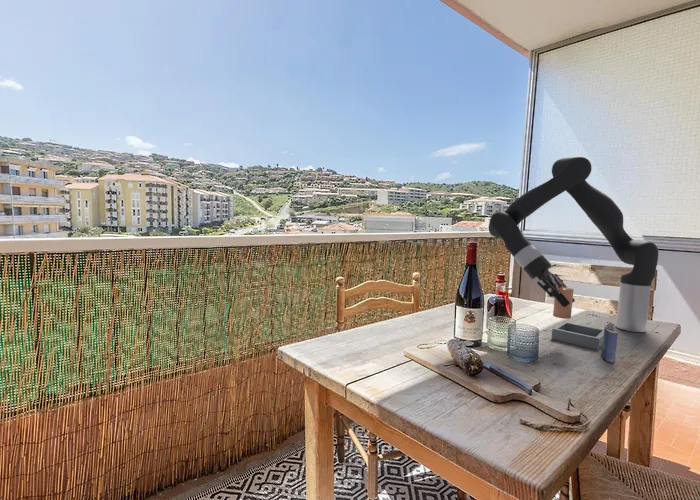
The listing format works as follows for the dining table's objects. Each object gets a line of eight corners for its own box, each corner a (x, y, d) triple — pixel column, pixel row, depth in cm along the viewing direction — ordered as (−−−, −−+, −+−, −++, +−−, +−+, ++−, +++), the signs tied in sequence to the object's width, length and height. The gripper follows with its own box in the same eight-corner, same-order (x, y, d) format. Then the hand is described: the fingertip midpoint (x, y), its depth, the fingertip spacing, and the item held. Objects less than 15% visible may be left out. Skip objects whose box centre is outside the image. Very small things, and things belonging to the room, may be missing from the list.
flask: (615, 364, 106) (619, 327, 105) (603, 362, 108) (606, 325, 107) (611, 354, 115) (614, 319, 114) (599, 352, 116) (603, 318, 115)
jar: (555, 313, 123) (557, 286, 123) (572, 316, 120) (575, 288, 119) (550, 316, 120) (553, 288, 119) (568, 319, 116) (571, 290, 115)
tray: (562, 330, 137) (563, 321, 136) (607, 340, 128) (608, 330, 127) (551, 338, 127) (552, 328, 127) (598, 349, 118) (599, 338, 118)
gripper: (533, 255, 118) (574, 300, 111) (548, 253, 128) (586, 294, 121) (515, 270, 122) (552, 314, 115) (530, 266, 132) (566, 307, 125)
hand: (569, 303), depth 118 cm, fingers closed on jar, 5 cm apart
